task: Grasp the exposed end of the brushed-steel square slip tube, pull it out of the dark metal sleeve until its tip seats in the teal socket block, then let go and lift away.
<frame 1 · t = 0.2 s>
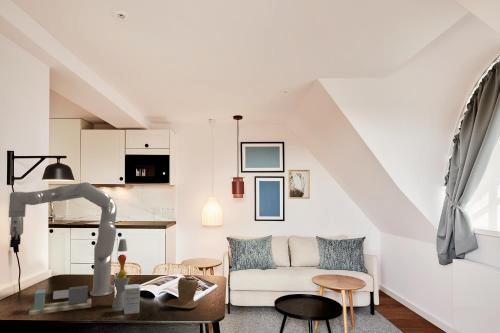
hand: (15, 245, 185), 31 cm above the table, fingers open, 9 cm apart
slip tube: (70, 293, 179), point 7 cm above the table, slide at 0.0 cm
socket block: (39, 310, 172), resting on base board
brown boot: (183, 307, 180), on the table
base board: (61, 307, 177), on the table
supplement box: (131, 311, 172), on the table
lava lamp: (120, 305, 181), on the table
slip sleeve: (77, 305, 180), resting on base board
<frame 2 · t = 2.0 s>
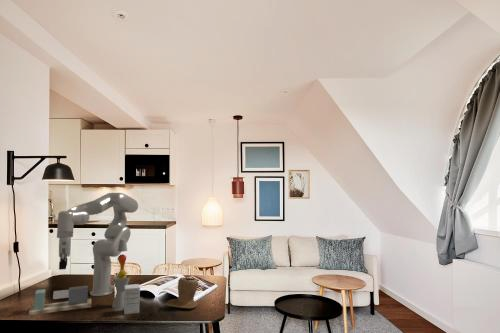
hand: (63, 267, 178), 21 cm above the table, fingers open, 9 cm apart
nothing on the table moved.
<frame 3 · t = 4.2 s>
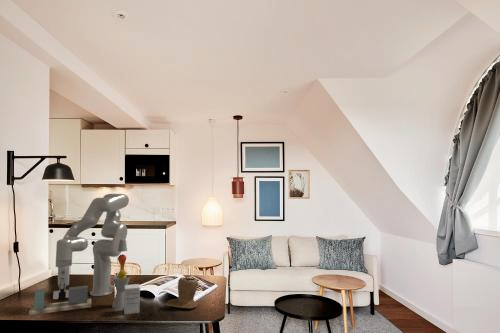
hand: (62, 298, 177), 5 cm above the table, fingers closed on slip tube, 3 cm apart
slip tube: (70, 293, 179), point 7 cm above the table, slide at 0.0 cm, touching gripper
everything else where it was.
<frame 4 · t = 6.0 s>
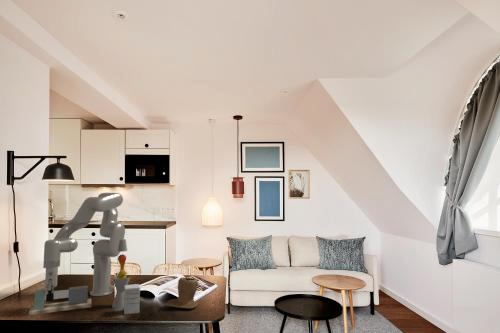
hand: (50, 299, 175), 5 cm above the table, fingers closed on slip tube, 3 cm apart
slip tube: (59, 294, 177), point 7 cm above the table, slide at 5.5 cm, touching gripper
everything else where it was.
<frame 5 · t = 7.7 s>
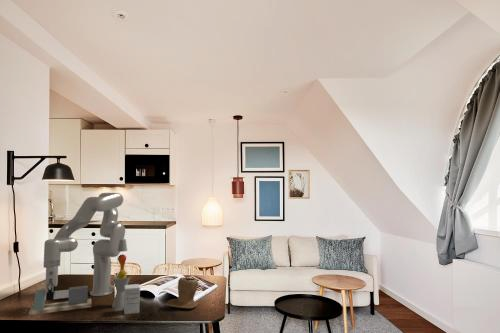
hand: (50, 297, 175), 6 cm above the table, fingers open, 9 cm apart
slip tube: (59, 294, 177), point 7 cm above the table, slide at 5.5 cm
everything else where it was.
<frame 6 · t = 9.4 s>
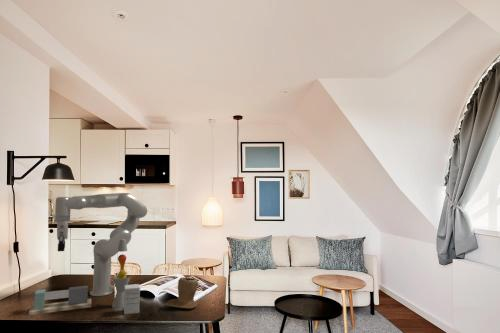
hand: (61, 249, 189), 28 cm above the table, fingers open, 9 cm apart
nothing on the table moved.
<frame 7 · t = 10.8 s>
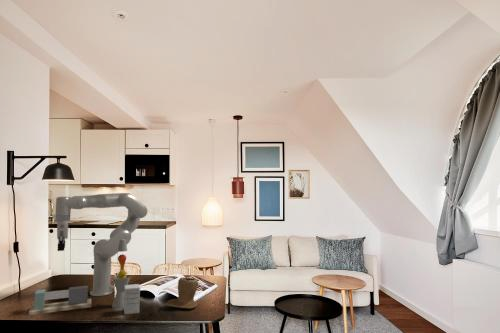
hand: (61, 249, 190), 28 cm above the table, fingers open, 9 cm apart
nothing on the table moved.
at the end: slip tube slide at 5.5 cm; the gripper is holding nothing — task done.
